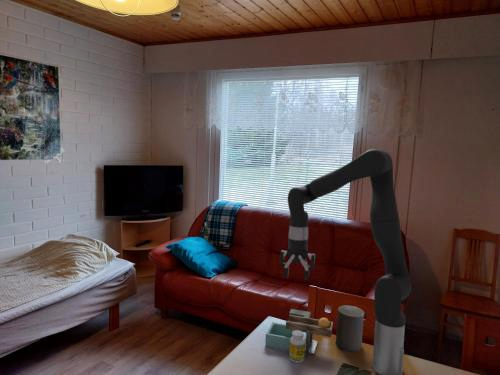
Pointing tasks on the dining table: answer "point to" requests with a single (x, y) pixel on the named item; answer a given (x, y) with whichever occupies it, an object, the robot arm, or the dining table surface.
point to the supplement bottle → (297, 346)
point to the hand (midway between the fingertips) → (296, 277)
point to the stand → (310, 344)
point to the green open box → (278, 337)
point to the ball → (324, 323)
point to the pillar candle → (349, 328)
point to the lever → (306, 323)
